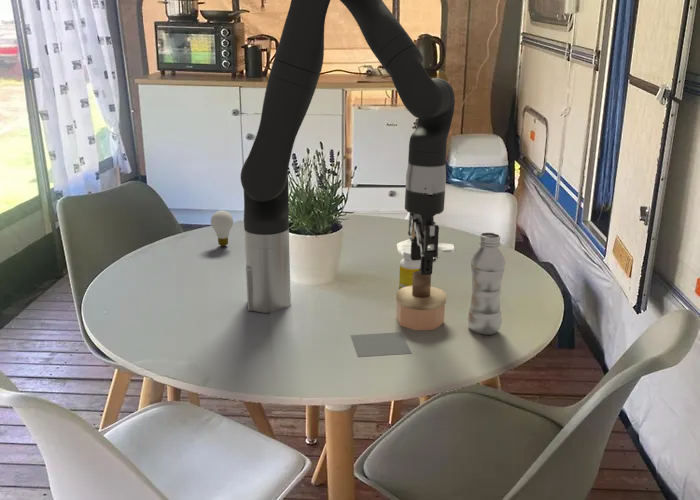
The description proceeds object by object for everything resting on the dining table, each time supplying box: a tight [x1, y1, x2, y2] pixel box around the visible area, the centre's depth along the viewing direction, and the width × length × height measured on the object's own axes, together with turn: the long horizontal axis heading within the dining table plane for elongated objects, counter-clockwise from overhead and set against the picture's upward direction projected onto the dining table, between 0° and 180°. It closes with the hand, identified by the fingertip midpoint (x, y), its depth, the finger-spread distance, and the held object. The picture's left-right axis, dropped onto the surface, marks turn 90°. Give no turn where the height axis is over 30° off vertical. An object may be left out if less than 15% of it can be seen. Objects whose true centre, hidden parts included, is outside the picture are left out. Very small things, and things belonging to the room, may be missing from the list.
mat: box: [350, 331, 412, 358], centre depth 128 cm, size 10×9×1 cm
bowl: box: [395, 301, 446, 331], centre depth 138 cm, size 9×9×5 cm
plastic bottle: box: [466, 232, 506, 336], centre depth 132 cm, size 6×7×20 cm
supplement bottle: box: [398, 249, 421, 290], centre depth 153 cm, size 5×5×10 cm
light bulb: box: [210, 210, 234, 248], centre depth 183 cm, size 6×6×10 cm
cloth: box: [396, 238, 456, 263], centre depth 181 cm, size 20×22×2 cm
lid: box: [395, 271, 447, 310], centre depth 136 cm, size 10×10×6 cm
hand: (420, 266), depth 134 cm, fingers open, 8 cm apart
